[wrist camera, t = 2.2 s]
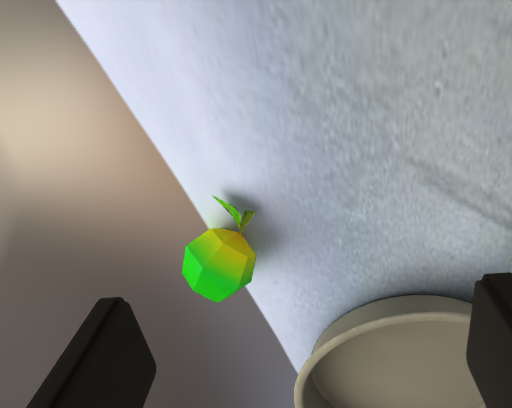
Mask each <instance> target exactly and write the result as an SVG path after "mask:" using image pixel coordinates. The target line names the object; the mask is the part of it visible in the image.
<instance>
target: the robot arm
mask: <svg viewBox="0 0 512 408" xmlns="http://www.w3.org/2000/svg"><path fill="white" fill-rule="evenodd" d="M466 360H467V364H468V368H469V370H470V372H471V375H472V377H473V379H474V381H475V383H476V386H477V388H478V390H479V392H480V395H481V397H482V399H483V401H484V403H485V406H486V408H512V273H494V274H484V276H483V278H482V280H478V281H476V282H475V288H474V295H473V303H472V311H471V318H470V326H469V334H468V342H467V349H466ZM155 374H156V363H155V360H154V358H153V356H152V354H151V352H150V349H149V347H148V345H147V343H146V340H145V338H144V336H143V333H142V331H141V329H140V327H139V324H138V323H137V320H136V318H135V316H134V313H133V311H132V309H131V307H130V305H129V303H128V302H125V301H124V300H123V298H121V297H115V298H101V299H99V300H98V302H97V303H96V304H95V306H94V307H93V309H92V310H91V312H90V313H89V315H88V316H87V318H86V319H85V321H84V322H83V324H82V325H81V327H80V328H79V330H78V331H77V333H76V334H75V336H74V337H73V339H72V340H71V342H70V343H69V345H68V346H67V348H66V349H65V351H64V352H63V353H62V355H61V356H60V358H59V360H58V361H57V362H56V364H55V366H54V367H53V368H52V370H51V371H50V373H49V375H48V376H47V378H46V379H45V380H44V382H43V383H42V385H41V386H40V388H39V389H38V391H37V392H36V394H35V395H34V397H33V398H32V400H31V401H30V403H29V404H28V406H27V407H26V408H143V406H144V403H145V400H146V398H147V395H148V393H149V390H150V388H151V385H152V382H153V380H154V377H155Z"/></svg>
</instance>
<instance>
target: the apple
mask: <svg viewBox="0 0 512 408" xmlns="http://www.w3.org/2000/svg"><path fill="white" fill-rule="evenodd" d="M212 196H213V195H212ZM213 197H214V198H215V199H216V200H217V201H218V202H219V203H220V204H221V205H222V206H223V207H224V208H225V209H226V210H227V211H228V212H229V213H230V214H231V215H232V216H233V218H234V220H235V221H236V223H237V225H238V226H239V228H240V229H239V232H235V231H231V230H226V229H222V228H214V229H209V230H208V231H206V232H205V233H204V234H202V235H201V236H199V237H198V238H196V239H195V240H194V241H192V242H191V243H189V244H188V245H186V250H185V256H184V263H183V270H182V274H183V276H184V277H185V279H186V280H187V282H188V283H189V285H190V286H191V288H192V289H193V290H194V291H195V292H197V293H198V294H200V295H202V296H204V297H206V298H208V299H210V300H212V301H215V302H217V303H218V302H220V301H222V300H224V299H226V298H228V297H229V296H231V295H232V294H234V293H235V292H237V291H238V290H239V289H241V288H242V287H244V286H245V285H247V284H248V283H250V282H251V280H252V275H253V269H254V264H255V259H256V254H255V252H254V251H253V250H252V248H251V247H250V246H249V244H248V243H247V242H246V240H245V239H244V238H243V236H242V235H241V233H242V232H243V230H244V229H245V227H246V226H247V224H248V223H249V222H250V220H251V219H252V217H253V216H254V214H255V213H256V212H254V211H248V210H245V212H244V216H243V219H242V222H241V214H240V213H239V212H238V210H237V209H236V208H235V207H233V206H231V205H229V204H228V203H226V202H224V201H222V200H220V199H218V198H216V197H215V196H213Z"/></svg>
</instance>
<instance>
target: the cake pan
mask: <svg viewBox="0 0 512 408" xmlns="http://www.w3.org/2000/svg"><path fill="white" fill-rule="evenodd" d="M471 311H472V304H471V303H468V302H465V301H462V300H458V299H454V298H449V297H443V296H433V295H408V296H398V297H392V298H387V299H383V300H379V301H375V302H372V303H369V304H366V305H364V306H361V307H359V308H356V309H354V310H352V311H350V312H348V313H347V314H345V315H344V316H342V317H340V318H339V319H338V320H336V321H335V322H334V323H332V324H331V325H330V326H329V327H328V328H327V329H326V330H325V331H324V332H323V333H322V335H321V336H320V337H319V339H318V340H317V342H316V344H315V346H314V348H313V351H312V354H311V357H310V358H309V359H308V360H307V361H306V363H305V364H304V366H303V367H302V369H301V371H300V373H299V375H298V377H297V380H296V384H295V388H294V402H295V408H486V406H485V403H484V401H483V399H482V397H481V395H480V392H479V390H478V388H477V386H476V383H475V381H474V379H473V377H472V375H471V372H470V370H469V368H468V364H467V360H466V349H467V342H468V334H469V326H470V318H471Z"/></svg>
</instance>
